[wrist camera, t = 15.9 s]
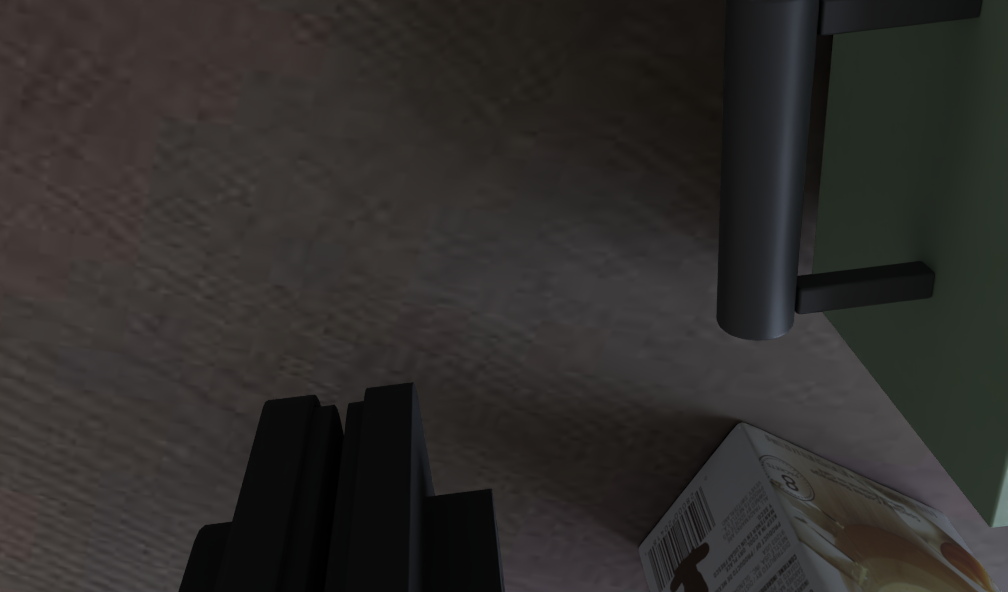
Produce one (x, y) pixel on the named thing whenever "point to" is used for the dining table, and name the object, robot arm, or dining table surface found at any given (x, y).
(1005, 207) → the drawer
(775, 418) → the dining table surface
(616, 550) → the dining table surface
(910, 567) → the coffee box
